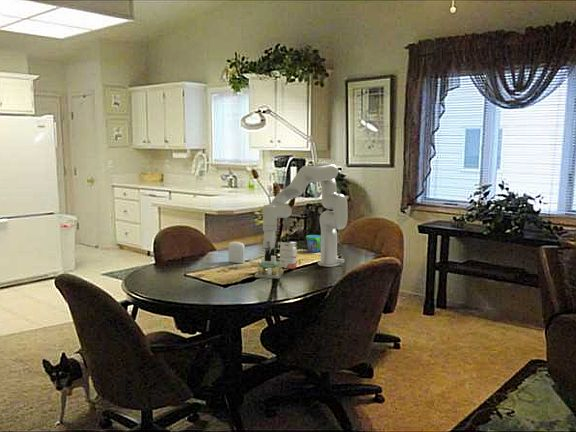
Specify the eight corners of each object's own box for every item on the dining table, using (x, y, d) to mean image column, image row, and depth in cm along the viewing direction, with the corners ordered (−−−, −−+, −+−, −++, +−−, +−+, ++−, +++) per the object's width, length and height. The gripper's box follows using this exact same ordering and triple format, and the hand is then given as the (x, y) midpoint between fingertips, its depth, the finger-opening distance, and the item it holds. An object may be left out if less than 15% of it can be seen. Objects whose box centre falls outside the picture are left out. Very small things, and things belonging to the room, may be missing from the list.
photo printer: (227, 262, 333) (227, 241, 331) (231, 260, 337) (231, 240, 335) (241, 264, 328) (241, 243, 326) (245, 262, 332) (245, 242, 330)
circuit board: (263, 261, 310) (263, 253, 309) (280, 262, 308) (280, 254, 307) (258, 266, 298) (258, 258, 297) (276, 267, 296) (276, 259, 296)
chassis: (260, 270, 312) (260, 258, 311) (283, 272, 310) (283, 259, 309) (255, 277, 298) (255, 264, 297) (279, 278, 296) (279, 265, 295)
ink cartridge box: (296, 267, 321) (297, 242, 319) (292, 269, 317) (293, 243, 315) (283, 265, 325) (283, 240, 323) (279, 267, 321) (279, 242, 319)
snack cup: (302, 249, 373) (303, 234, 371) (318, 248, 375) (318, 233, 374) (309, 254, 358) (309, 238, 356) (325, 253, 360) (325, 237, 359)
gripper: (266, 225, 309) (266, 255, 312) (259, 230, 292) (259, 262, 295) (279, 225, 308) (279, 256, 310) (273, 230, 291) (273, 262, 294)
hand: (269, 259), depth 303 cm, fingers open, 9 cm apart
